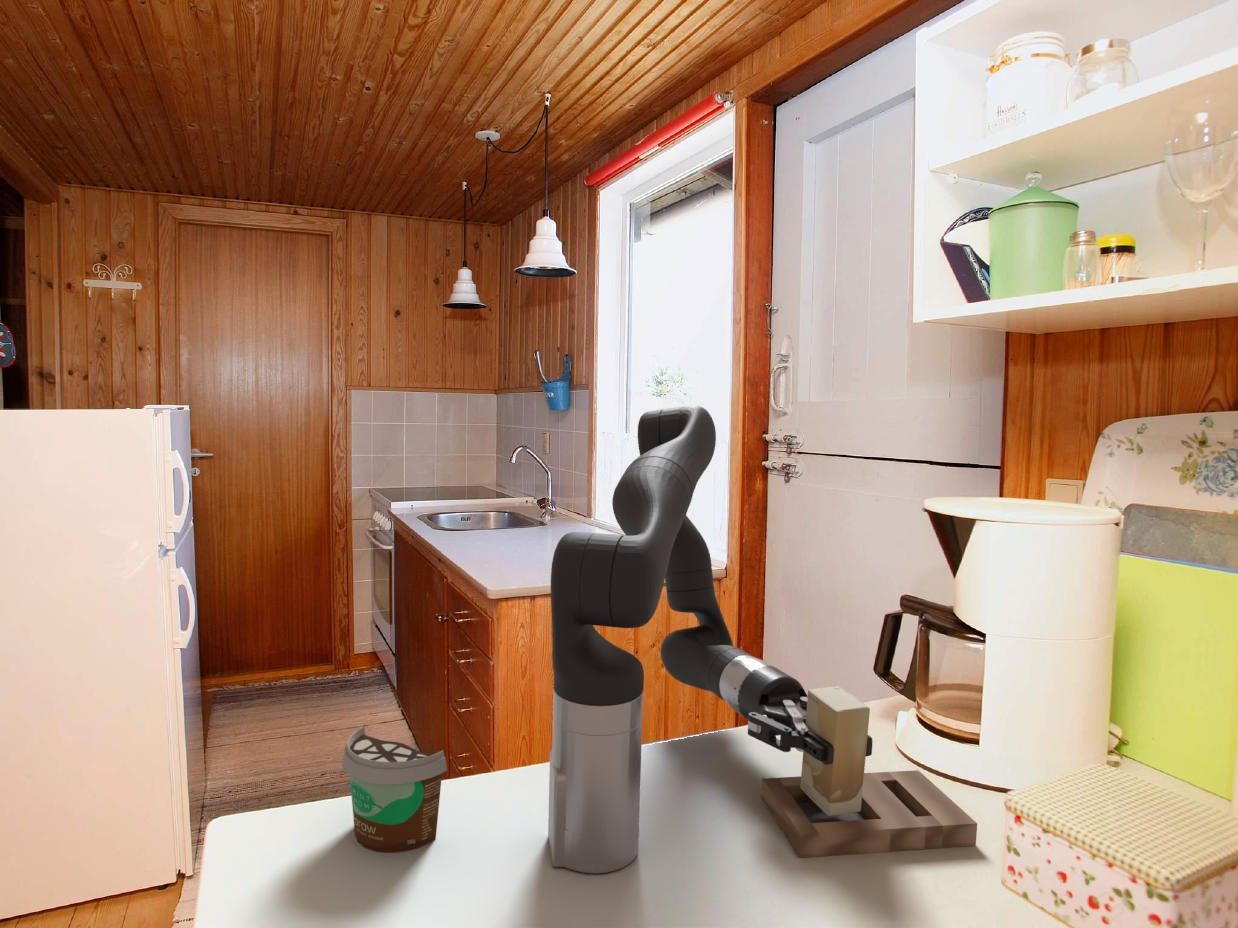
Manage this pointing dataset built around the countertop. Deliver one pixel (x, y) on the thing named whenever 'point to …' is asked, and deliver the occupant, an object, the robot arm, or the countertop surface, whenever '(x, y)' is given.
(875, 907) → the countertop surface
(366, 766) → the food container
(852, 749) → the skincare box
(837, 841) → the socket plate
